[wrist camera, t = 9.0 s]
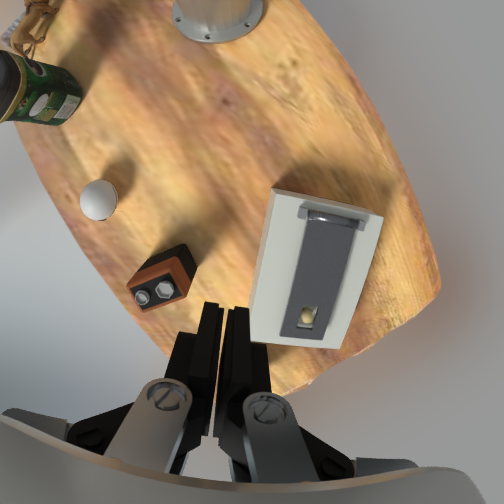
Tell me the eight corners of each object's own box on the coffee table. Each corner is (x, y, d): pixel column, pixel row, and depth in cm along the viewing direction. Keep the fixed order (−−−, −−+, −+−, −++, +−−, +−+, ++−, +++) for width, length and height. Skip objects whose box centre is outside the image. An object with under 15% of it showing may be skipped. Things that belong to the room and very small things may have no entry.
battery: (199, 268, 41) (186, 301, 32) (159, 283, 42) (139, 318, 32) (185, 241, 40) (168, 268, 30) (146, 258, 40) (121, 288, 31)
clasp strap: (308, 208, 32) (310, 209, 31) (354, 218, 33) (358, 220, 32) (278, 332, 37) (279, 337, 36) (320, 336, 37) (322, 341, 36)
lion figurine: (47, -2, 23) (21, -17, 15) (67, -7, 24) (42, -25, 15) (21, 66, 28) (-11, 58, 19) (40, 62, 28) (7, 52, 20)
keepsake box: (271, 187, 37) (277, 195, 30) (365, 208, 39) (390, 220, 31) (245, 317, 44) (245, 348, 36) (329, 326, 45) (342, 356, 38)
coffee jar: (34, 100, 31) (-47, 93, 13) (63, 62, 29) (-14, 36, 12) (59, 135, 33) (-29, 138, 16) (91, 95, 32) (7, 74, 14)
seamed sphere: (86, 203, 37) (66, 211, 32) (101, 170, 36) (82, 174, 30) (124, 230, 39) (108, 242, 33) (142, 197, 37) (127, 204, 32)
